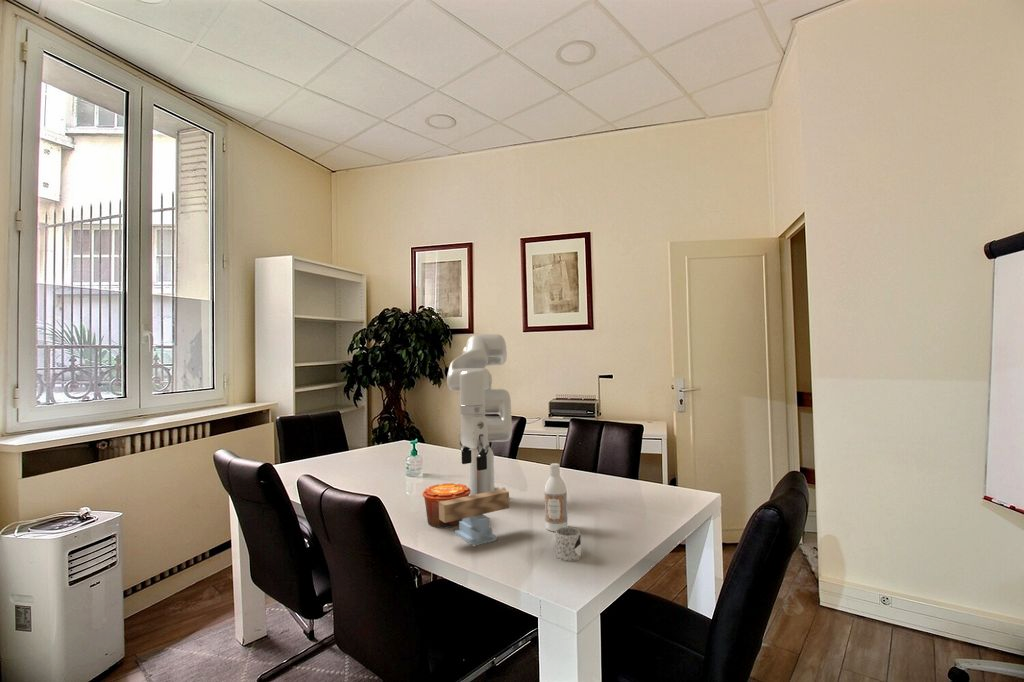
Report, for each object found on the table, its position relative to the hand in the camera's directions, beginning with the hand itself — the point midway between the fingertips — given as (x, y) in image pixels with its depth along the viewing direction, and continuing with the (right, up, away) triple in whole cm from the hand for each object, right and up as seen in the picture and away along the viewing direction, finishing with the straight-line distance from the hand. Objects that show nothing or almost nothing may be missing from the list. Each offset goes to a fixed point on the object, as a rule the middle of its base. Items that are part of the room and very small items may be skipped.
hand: (474, 466), depth 145 cm
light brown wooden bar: (0, -14, -1) cm, 14 cm away
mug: (+27, -20, -15) cm, 37 cm away
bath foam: (+26, -21, +4) cm, 33 cm away
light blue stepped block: (+1, -21, -1) cm, 21 cm away
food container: (-10, -22, +14) cm, 28 cm away
